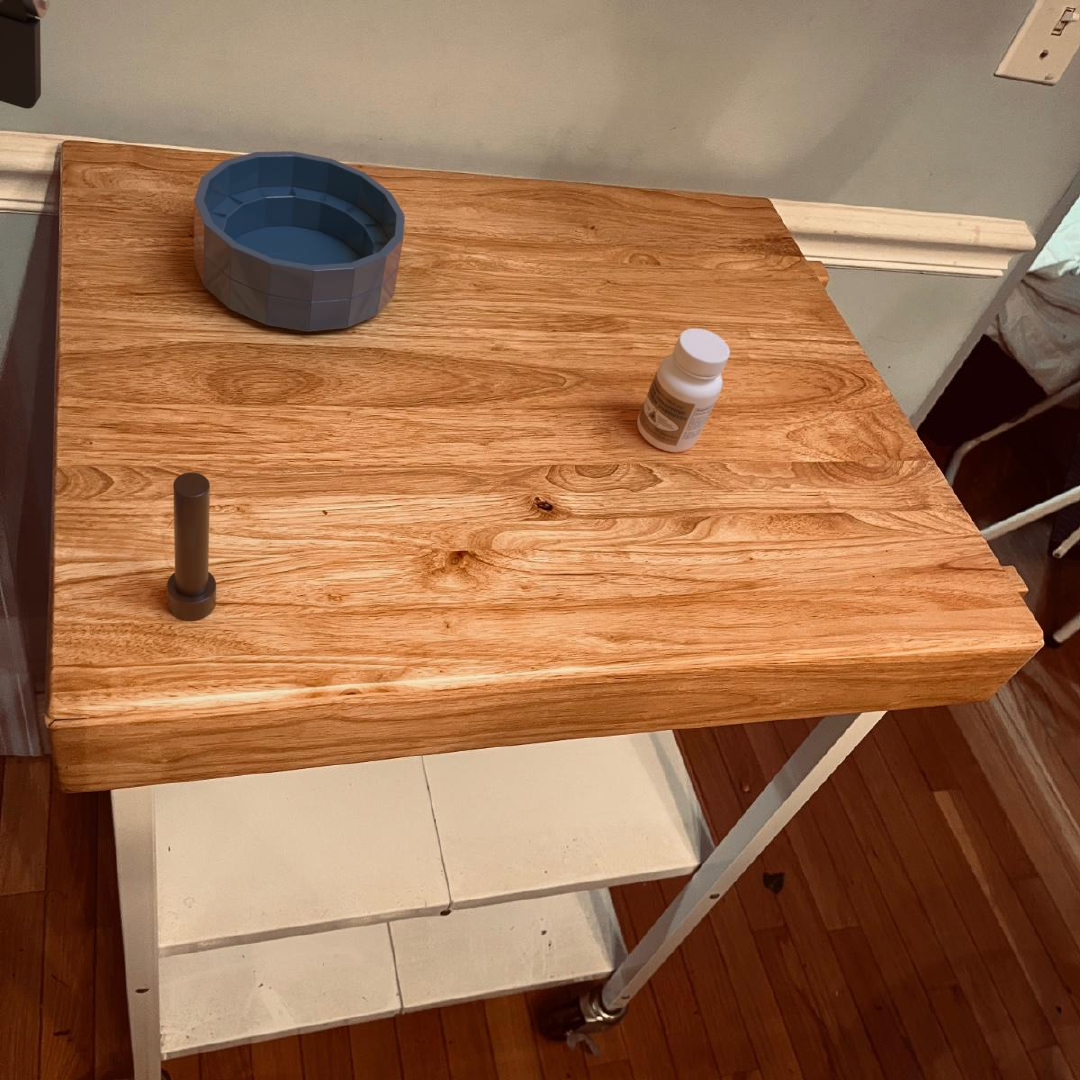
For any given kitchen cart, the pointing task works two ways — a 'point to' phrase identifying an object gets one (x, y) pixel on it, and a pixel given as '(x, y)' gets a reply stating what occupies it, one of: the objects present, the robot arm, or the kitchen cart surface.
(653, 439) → the pill bottle
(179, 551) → the brown rubber stamp
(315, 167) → the bowl
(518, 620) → the kitchen cart surface
